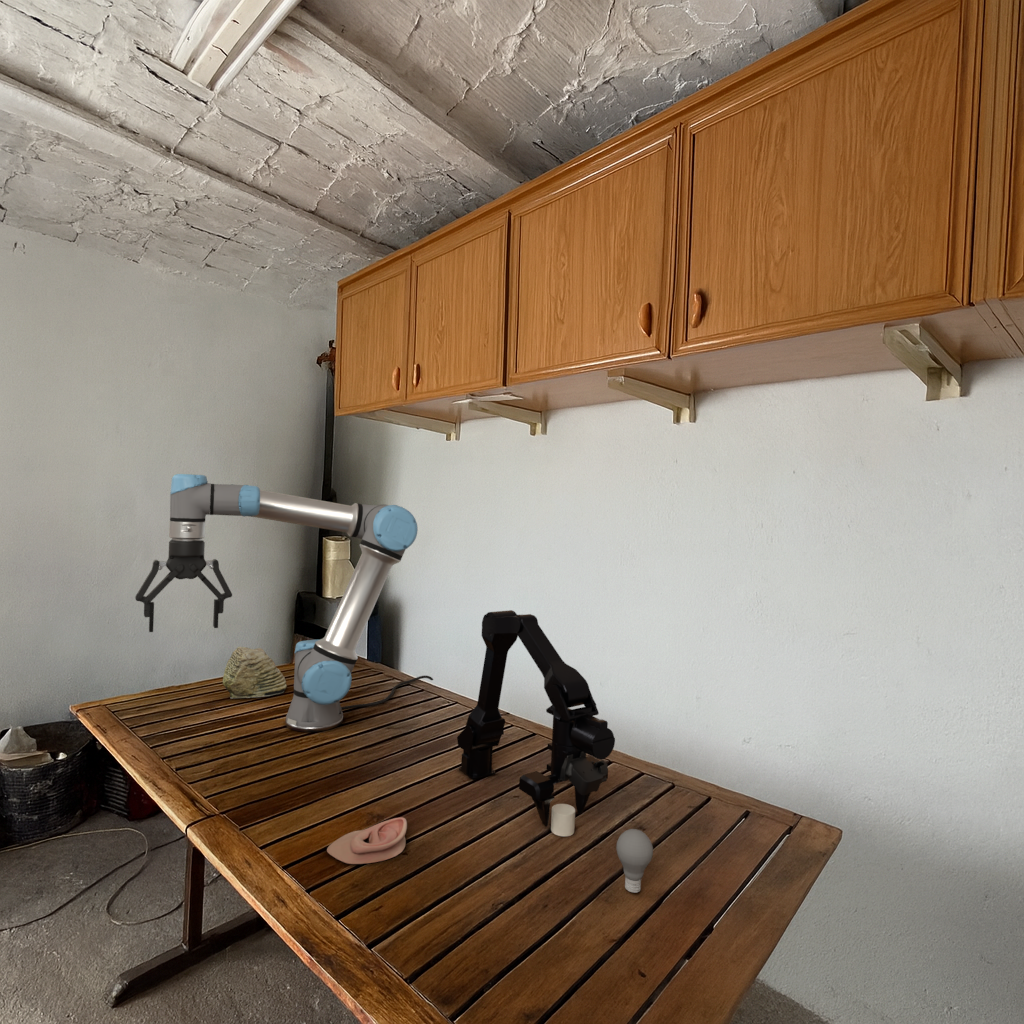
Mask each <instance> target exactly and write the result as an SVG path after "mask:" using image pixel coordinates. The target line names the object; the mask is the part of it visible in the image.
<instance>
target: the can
mask: <svg viewBox="0 0 1024 1024" xmlns="http://www.w3.org/2000/svg"><path fill="white" fill-rule="evenodd" d="M550 816H551V818H550V819H551V820H550V831H551V833H552V834H554V835H555V836H558V837H570V836H572V835H574V834H575V826H576V825H575V824H576V808H575V807H574V806H572V805H570V804H567V803H556V804H554V805H553V806H552V807H551V815H550Z"/></svg>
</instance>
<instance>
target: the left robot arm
mask: <svg viewBox="0 0 1024 1024" xmlns="http://www.w3.org/2000/svg"><path fill="white" fill-rule="evenodd" d="M169 495H170V496H169V497H170V498H169V528H168V529H169V530H168V531H169V533H168V537H169V538H170V539H171V540H169V541H168V557H167V560H166V561H165V560H158V559H154V560H153V561H152V566H151V570H150V571H149V573H148V575H147V576H146V578H145V580H144V581H143V583H142V585H141V586H140V588H139V590H138V591H137V593H136V595H135V597H134V598H135V601H136V602H141V603H143V616H144V618H148V619H149V620H148V633H154V615H155V602H154V601H153V600H154V599H155V598H156V597H158V595H159V594H160V593H161V592H162V591H163V590H164V589H165V588H166V587H167V586H168V585H169V584H170V583H171V582H173V580H174V579H177V580H185V579H186V580H187V579H188V580H194V579H196V578H198V579H199V580H200V582H202V583H203V584H204V585H205V586H206V587H207V589H208V590H210V592H212V594H213V595H214V596H215V597H216V598H215V599H213V620H212V621H213V622H212V626H213V628H214V629H218V628H219V614H223V613H224V605H225V604H224V603H225V600H226V599H228V598H232V597H233V593H232V591H231V589H230V587H229V585H228V583H227V581H226V580H225V577H224V575H223V574H222V572H221V569H220V564H219V560H217V559H216V558H213V559H211V560H210V559H209V560H206V559H205V547H206V546H205V545H206V544H205V543H206V541H204V540H203V539H205V538H206V518H207V517H206V516H209V515H210V516H231V517H233V516H235V517H236V516H237V517H245V518H246V517H252V518H256V519H263V520H269V521H274V522H275V521H276V522H281V523H288V524H293V525H300V526H306V527H313V528H316V529H317V528H318V529H324V530H331V531H334V532H335V531H336V532H343V533H345V534H347V536H348V537H349V538H357V539H360V544H359V548H360V550H361V555H360V557H359V559H358V562H357V564H356V565H355V567H354V570H353V572H352V575H351V576H350V579H349V581H348V583H347V586H346V588H345V591H344V592H343V595H342V597H341V599H340V602H339V604H338V605H337V608H336V610H335V613H334V615H333V617H332V619H331V621H330V624H329V626H328V628H327V630H326V632H325V635H324V637H322V638H320V639H307V640H301V641H298V642H297V643H296V644H295V648H294V649H295V650H294V672H293V673H294V674H293V675H294V676H293V695H292V696H293V697H292V699H291V702H290V704H289V708H288V711H287V713H286V715H285V726H286V728H287V729H289V730H291V731H294V732H295V731H296V732H301V733H316V732H325V731H329V730H332V729H335V728H337V727H339V726H340V725H342V723H343V722H344V714H343V711H344V710H350V709H356V708H366V707H373V706H377V705H381V704H383V703H385V702H388V701H389V699H390V698H391V697H393V695H394V693H395V690H397V689H398V688H399V687H401V686H403V685H407V684H410V683H413V682H415V681H418V680H422V679H428V680H430V681H434V678H433V677H432V676H430V675H420V676H417V677H413V678H410V679H409V680H405V681H402V682H399V683H397V684H396V685H395V686H393V687H392V689H391V692H390V693H389V694H388V696H386V697H385V698H384V699H381V700H378V701H374V702H368V703H359V704H351V705H343V706H341V702H340V701H341V700H342V699H344V698H345V697H346V696H347V694H348V693H349V691H350V689H351V687H352V679H353V677H352V673H353V671H354V668H355V665H356V663H357V661H358V658H359V657H358V654H357V652H356V649H357V646H358V644H359V643H360V639H361V637H362V635H363V633H364V630H365V628H366V626H367V624H368V621H369V620H370V617H371V615H372V613H373V611H374V608H375V605H376V604H377V601H378V599H379V596H380V594H381V592H382V589H383V588H384V585H385V583H386V580H387V578H388V577H389V574H390V571H391V569H392V568H393V566H394V565H396V564H399V563H401V561H402V558H403V557H404V554H405V552H406V550H407V549H408V548H410V547H411V546H412V545H413V544H414V542H415V541H416V539H417V536H418V531H419V530H418V522H417V520H416V517H415V516H414V515H413V514H412V512H411V511H410V510H408V509H407V508H405V507H403V506H400V505H397V504H366V503H365V504H364V503H358V502H354V503H353V504H351V505H349V504H343V503H338V502H332V501H326V500H320V499H316V498H310V497H305V496H299V495H293V494H287V493H282V492H277V491H270V490H265V489H260V487H259V486H258V485H249V484H233V483H232V484H227V483H226V484H224V483H223V484H222V483H220V484H219V483H211V482H210V483H209V482H208V478H207V476H206V475H204V474H192V473H191V474H189V473H176V474H174V475H173V476H172V478H171V483H170V493H169ZM164 567H166V569H168V571H169V572H168V573H167V574H166V575H165V576H164V578H163V579H162V580H161V581H160V582H159V583H158V584H157V585H156V586H155V587H154V588H153V589H152V590H151V591H150V592H149V593H148V594H147V595H146V596H145V594H146V593H147V591H148V589H149V587H150V586H151V584H152V583H153V581H154V579H155V578H156V576H157V574H158V573H159V571H162V570H163V568H164ZM206 567H208V568H209V569H210V570H212V571H213V573H214V575H215V577H216V579H217V581H218V583H219V585H220V587H221V589H222V591H223V593H221V592H220V590H218V588H217V587H216V586H215V585H214V584H213V583H212V582H211V581H210V580H209V579H208V578H207V577H206V575H205V574H204V573H203V572H202V571H204V569H205V568H206Z"/></svg>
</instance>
